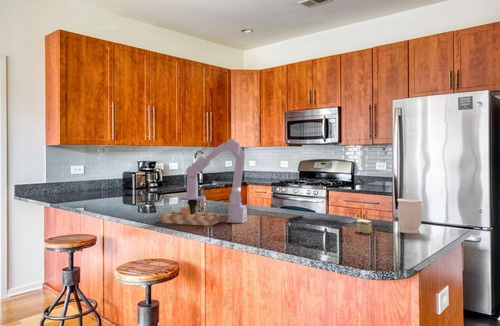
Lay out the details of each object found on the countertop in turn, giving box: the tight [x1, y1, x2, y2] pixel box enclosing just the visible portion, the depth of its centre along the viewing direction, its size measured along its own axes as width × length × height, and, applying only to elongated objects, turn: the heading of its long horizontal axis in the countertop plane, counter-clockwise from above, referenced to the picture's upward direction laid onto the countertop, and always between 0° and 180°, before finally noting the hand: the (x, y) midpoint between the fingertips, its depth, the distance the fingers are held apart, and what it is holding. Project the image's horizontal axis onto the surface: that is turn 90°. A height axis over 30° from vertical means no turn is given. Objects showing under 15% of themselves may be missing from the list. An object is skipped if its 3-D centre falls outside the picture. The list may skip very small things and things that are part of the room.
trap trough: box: [160, 210, 220, 227], centre depth 198 cm, size 29×11×4 cm, turn 71°
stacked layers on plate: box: [355, 218, 373, 234], centre depth 171 cm, size 10×9×6 cm
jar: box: [396, 197, 423, 235], centre depth 170 cm, size 11×10×15 cm
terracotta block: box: [180, 205, 194, 216], centre depth 199 cm, size 5×5×5 cm
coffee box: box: [195, 187, 206, 213], centre depth 218 cm, size 9×6×16 cm
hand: (192, 214), depth 198 cm, fingers closed, pressing on terracotta block
